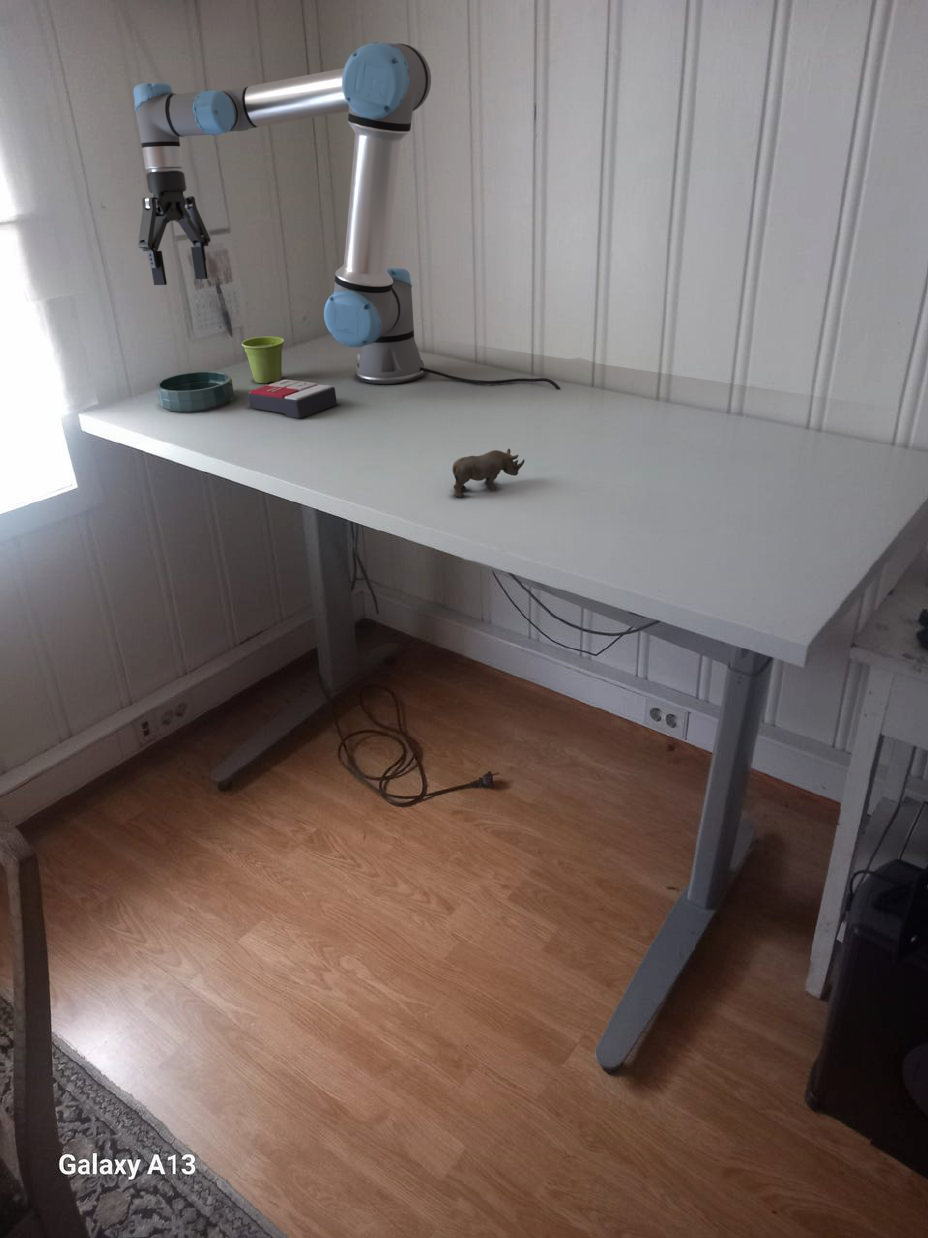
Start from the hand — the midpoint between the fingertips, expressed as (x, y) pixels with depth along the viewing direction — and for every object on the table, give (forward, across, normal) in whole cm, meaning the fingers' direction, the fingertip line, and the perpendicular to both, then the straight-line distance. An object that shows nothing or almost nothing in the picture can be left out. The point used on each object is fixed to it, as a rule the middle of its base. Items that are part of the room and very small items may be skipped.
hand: (181, 281), depth 203 cm
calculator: (+25, +4, +27) cm, 37 cm away
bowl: (+24, +7, +5) cm, 25 cm away
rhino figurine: (+30, +33, +82) cm, 94 cm away
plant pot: (+22, -12, +11) cm, 27 cm away
